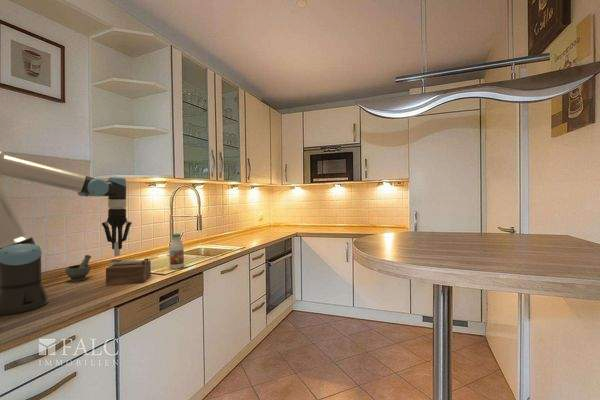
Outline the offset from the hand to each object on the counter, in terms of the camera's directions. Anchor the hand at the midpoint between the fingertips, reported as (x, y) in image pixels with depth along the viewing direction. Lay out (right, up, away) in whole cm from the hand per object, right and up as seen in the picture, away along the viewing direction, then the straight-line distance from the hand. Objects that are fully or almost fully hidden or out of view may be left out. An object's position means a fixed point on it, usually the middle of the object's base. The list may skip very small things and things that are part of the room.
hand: (117, 255), depth 142 cm
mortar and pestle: (-21, -13, +3) cm, 25 cm away
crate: (+5, -13, +2) cm, 14 cm away
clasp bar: (+5, -4, +1) cm, 6 cm away
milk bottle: (+19, -13, +26) cm, 34 cm away
